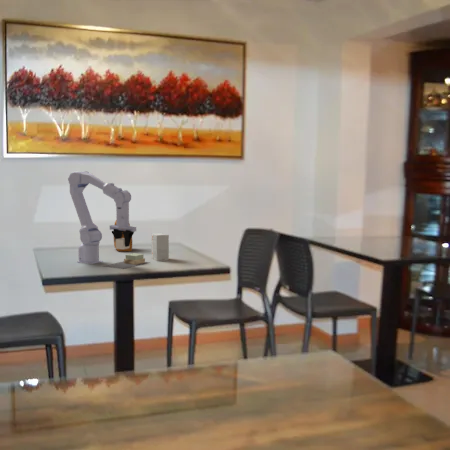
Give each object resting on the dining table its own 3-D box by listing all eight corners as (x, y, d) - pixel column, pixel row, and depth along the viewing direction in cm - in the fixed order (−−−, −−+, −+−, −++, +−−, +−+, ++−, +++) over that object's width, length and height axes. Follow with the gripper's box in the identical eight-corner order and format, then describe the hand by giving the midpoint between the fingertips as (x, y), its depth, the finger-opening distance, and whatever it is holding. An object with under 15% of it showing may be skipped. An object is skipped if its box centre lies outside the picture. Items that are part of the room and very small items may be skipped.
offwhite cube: (115, 248, 272) (115, 239, 272) (122, 247, 276) (122, 237, 276) (123, 249, 270) (123, 239, 269) (129, 248, 274) (129, 238, 273)
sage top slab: (125, 259, 278) (125, 254, 278) (133, 257, 283) (133, 253, 283) (135, 260, 275) (135, 256, 275) (143, 258, 280) (143, 254, 280)
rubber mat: (102, 266, 270) (102, 266, 270) (129, 260, 287) (129, 260, 287) (124, 269, 264) (124, 269, 264) (151, 263, 281) (151, 262, 281)
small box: (168, 261, 288) (168, 234, 287) (156, 261, 286) (156, 235, 284) (163, 258, 296) (163, 232, 294) (151, 259, 293) (151, 233, 291)
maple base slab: (124, 263, 278) (124, 259, 278) (133, 261, 284) (133, 257, 284) (135, 264, 275) (135, 260, 275) (144, 262, 281) (144, 258, 281)
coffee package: (114, 252, 314) (114, 211, 312) (113, 248, 326) (112, 209, 324) (133, 251, 316) (133, 211, 314) (131, 248, 328) (131, 209, 326)
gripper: (104, 216, 272) (105, 245, 273) (129, 218, 264) (129, 248, 266) (115, 215, 278) (115, 243, 279) (139, 217, 270) (139, 246, 272)
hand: (122, 245), depth 273 cm, fingers closed on offwhite cube, 4 cm apart
